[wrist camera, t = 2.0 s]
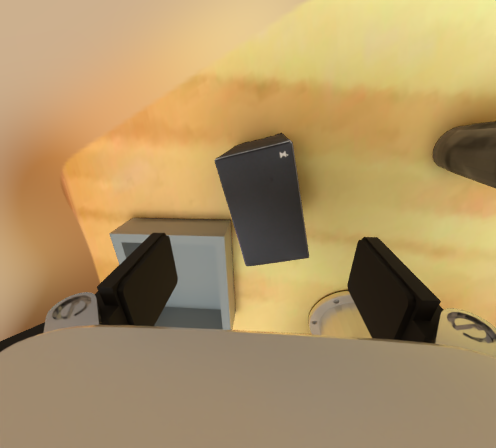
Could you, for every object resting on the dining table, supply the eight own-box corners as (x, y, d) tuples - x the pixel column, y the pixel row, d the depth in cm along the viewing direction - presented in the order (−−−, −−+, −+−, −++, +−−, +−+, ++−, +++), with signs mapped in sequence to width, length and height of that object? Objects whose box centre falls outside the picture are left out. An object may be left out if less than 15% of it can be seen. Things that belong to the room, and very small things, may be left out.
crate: (230, 219, 29) (224, 236, 25) (235, 311, 37) (231, 336, 32) (132, 217, 31) (109, 233, 26) (156, 306, 38) (141, 331, 33)
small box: (230, 145, 25) (208, 157, 16) (284, 131, 24) (295, 135, 15) (250, 223, 30) (243, 269, 20) (297, 214, 28) (313, 259, 19)
